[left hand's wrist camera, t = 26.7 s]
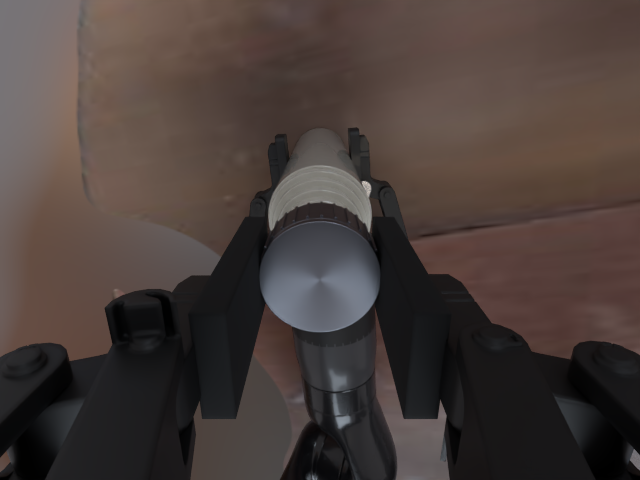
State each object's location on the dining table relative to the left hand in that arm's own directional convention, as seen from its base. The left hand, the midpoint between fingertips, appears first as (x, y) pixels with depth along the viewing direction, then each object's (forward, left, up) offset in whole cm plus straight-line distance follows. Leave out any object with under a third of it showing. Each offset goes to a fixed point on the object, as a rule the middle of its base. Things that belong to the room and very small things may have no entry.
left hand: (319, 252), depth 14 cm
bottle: (0, 0, -24) cm, 24 cm away
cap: (0, 0, +2) cm, 2 cm away
